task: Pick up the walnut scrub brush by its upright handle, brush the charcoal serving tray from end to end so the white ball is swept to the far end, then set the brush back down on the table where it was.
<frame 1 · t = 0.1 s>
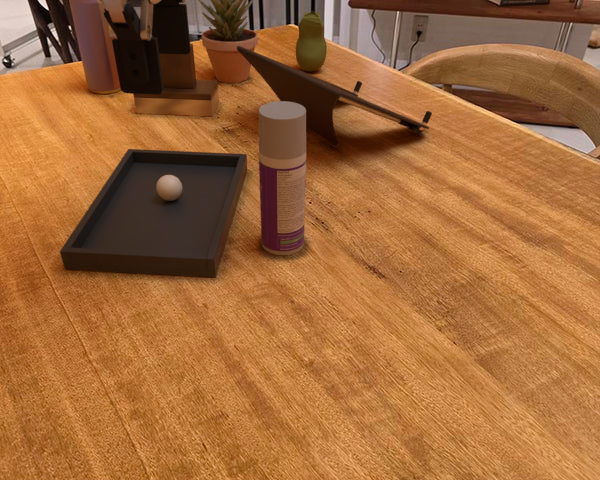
hand: (159, 71, 49), 20 cm above the table, tool pointing down, fingers open, 9 cm apart
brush: (178, 107, 94), on the table
container: (282, 244, 65), on the table
potted plant: (230, 78, 106), on the table
white ball: (169, 187, 69), point 2 cm above the table, touching tray
laptop stand: (341, 128, 89), on the table
tray: (167, 213, 69), on the table
pear: (310, 71, 109), on the table
beverage can: (106, 89, 100), on the table
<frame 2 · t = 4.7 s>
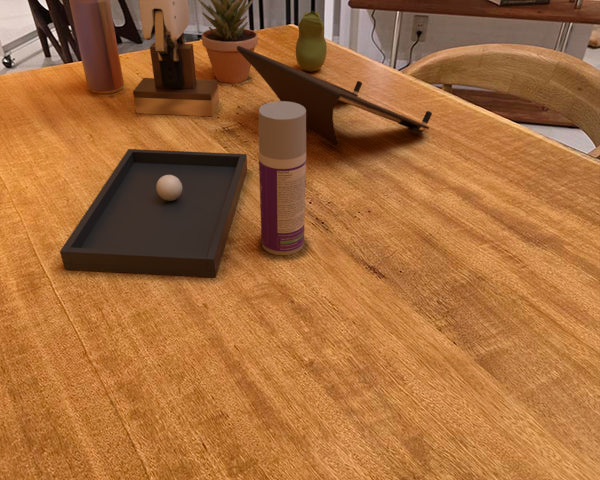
hand: (175, 82, 91), 4 cm above the table, tool pointing down, fingers closed on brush, 2 cm apart
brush: (178, 107, 94), on the table, touching gripper
everything else where it was.
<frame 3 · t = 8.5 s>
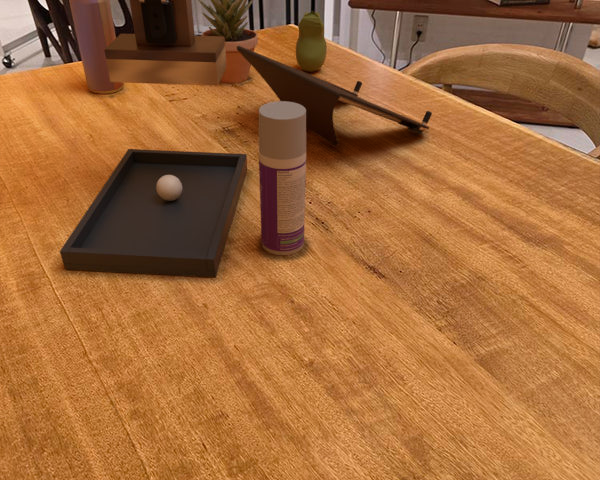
hand: (165, 37, 65), 17 cm above the table, tool pointing down, fingers closed on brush, 2 cm apart
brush: (170, 74, 67), point 13 cm above the table, touching gripper
everything else where it was.
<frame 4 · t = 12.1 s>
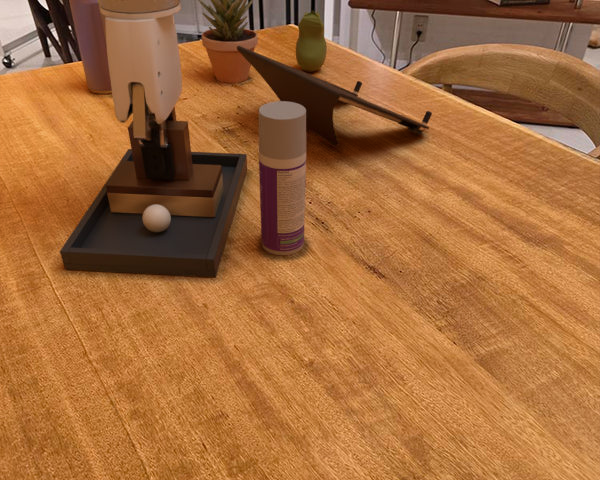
hand: (164, 170, 67), 5 cm above the table, tool pointing down, fingers closed on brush, 2 cm apart
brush: (169, 201, 69), point 1 cm above the table, touching gripper
white ball: (156, 218, 64), point 2 cm above the table, tilted 100°, touching tray
everything else where it was.
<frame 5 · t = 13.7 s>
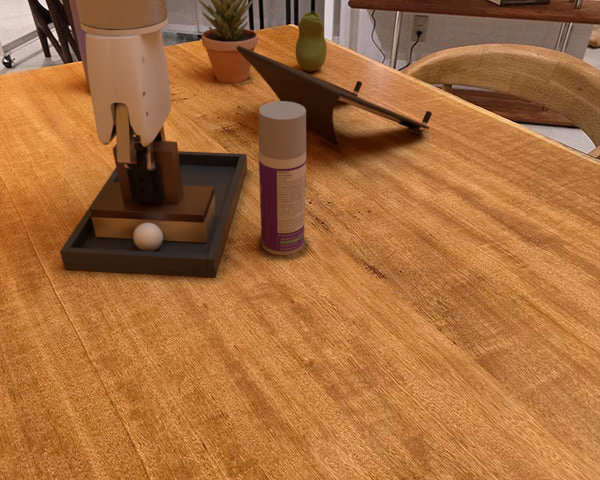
hand: (152, 192, 63), 5 cm above the table, tool pointing down, fingers closed on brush, 2 cm apart
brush: (157, 225, 66), point 1 cm above the table, touching gripper
white ball: (148, 237, 61), point 2 cm above the table, tilted 41°, touching tray
everything else where it was.
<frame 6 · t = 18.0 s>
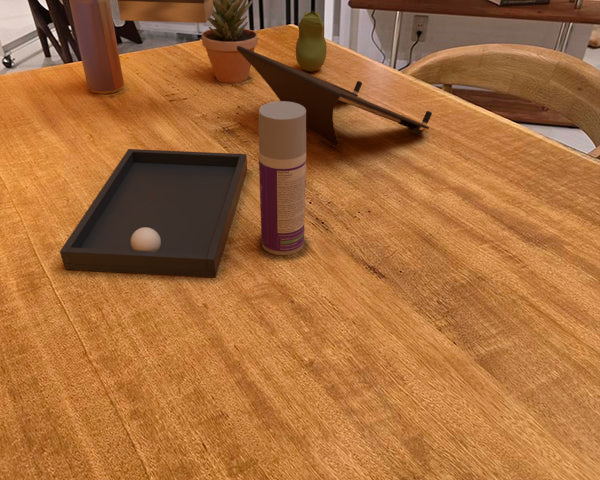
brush: (168, 16, 84), point 14 cm above the table, touching gripper
white ball: (145, 242, 60), point 2 cm above the table, tilted 76°, touching tray
everything else where it was.
when the fingers open (4 cm above the table, at t = 21.3 s): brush stays where it is, on the table.
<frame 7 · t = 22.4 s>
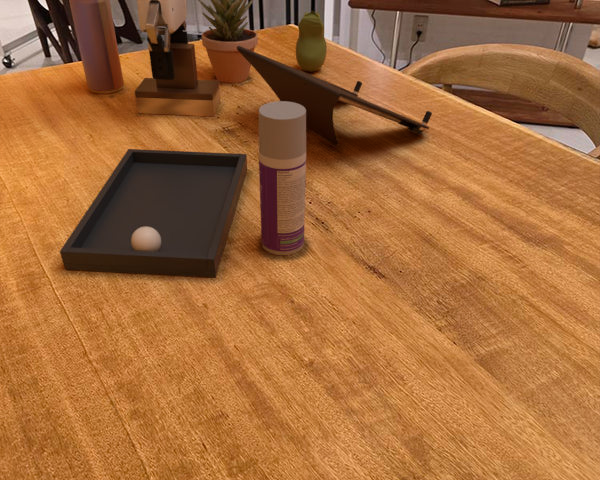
hand: (171, 67, 90), 6 cm above the table, tool pointing down, fingers open, 9 cm apart
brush: (180, 107, 94), on the table
white ball: (146, 241, 61), point 2 cm above the table, tilted 70°, touching tray
everything else where it was.
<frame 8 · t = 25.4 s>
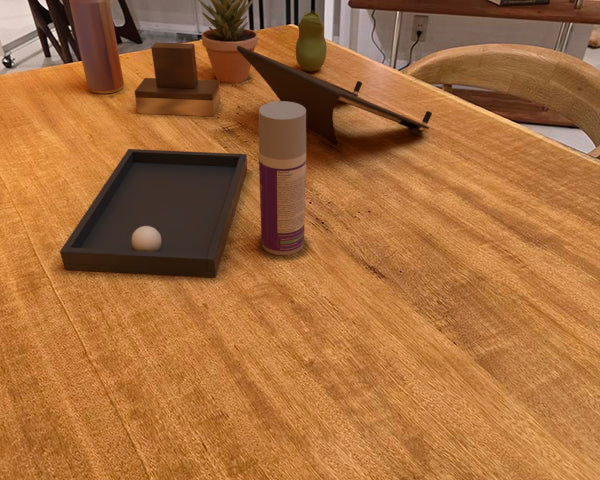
nothing on the table moved.
at the end: white ball inside the target area in the tray (0.7 cm from its centre), point 2.3 cm above the tray's base; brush inside the target area (0.2 cm from its centre), on the table; the gripper is holding nothing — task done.
